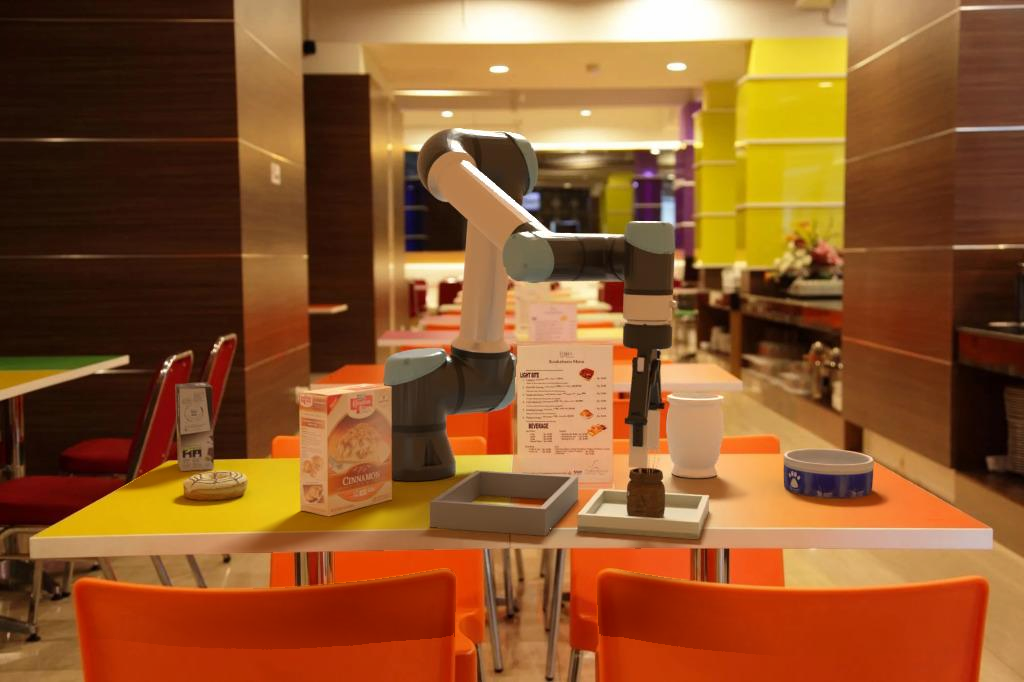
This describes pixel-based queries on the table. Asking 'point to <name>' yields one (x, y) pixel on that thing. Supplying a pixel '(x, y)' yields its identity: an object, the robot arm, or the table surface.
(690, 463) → the jar
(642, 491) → the brown container
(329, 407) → the coffeecake box
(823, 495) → the dog bowl
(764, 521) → the table surface
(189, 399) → the coffee box
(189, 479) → the decorated donut
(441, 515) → the bottomless rectangular frame
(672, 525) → the tray
